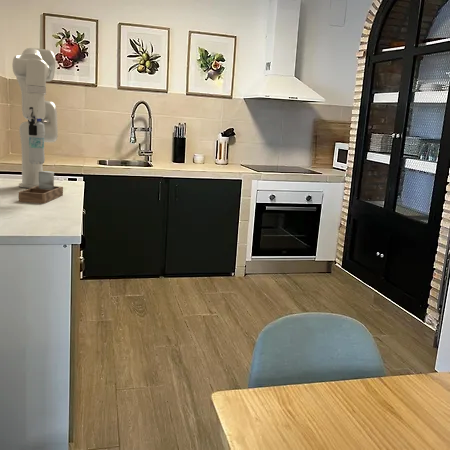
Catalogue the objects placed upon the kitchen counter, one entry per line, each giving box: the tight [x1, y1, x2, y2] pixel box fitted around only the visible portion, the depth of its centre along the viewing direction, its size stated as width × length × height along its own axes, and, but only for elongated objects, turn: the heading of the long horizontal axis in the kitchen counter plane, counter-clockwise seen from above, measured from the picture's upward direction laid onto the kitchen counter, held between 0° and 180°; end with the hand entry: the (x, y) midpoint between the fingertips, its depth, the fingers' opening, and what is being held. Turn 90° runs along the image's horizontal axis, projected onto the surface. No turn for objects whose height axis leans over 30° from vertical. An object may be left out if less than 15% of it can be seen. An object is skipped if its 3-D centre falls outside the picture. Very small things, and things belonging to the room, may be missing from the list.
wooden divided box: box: [18, 170, 64, 204], centre depth 220 cm, size 22×11×11 cm, turn 178°
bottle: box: [28, 117, 46, 165], centre depth 210 cm, size 7×7×20 cm
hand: (36, 134), depth 210 cm, fingers closed on bottle, 6 cm apart
